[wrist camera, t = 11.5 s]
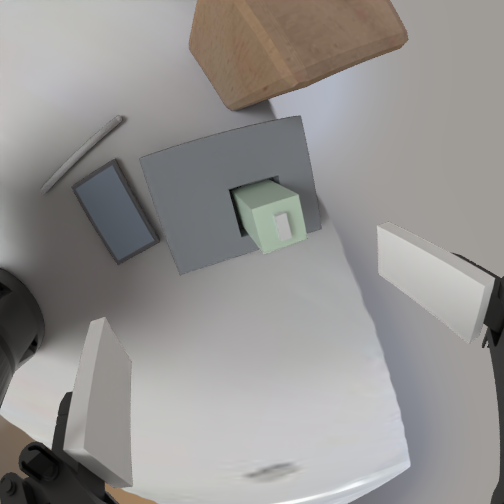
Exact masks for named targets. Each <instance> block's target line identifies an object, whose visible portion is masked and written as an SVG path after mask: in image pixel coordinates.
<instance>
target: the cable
mask: <svg viewBox="0 0 504 504" xmlns="http://www.w3.org/2000/svg"><path fill="white" fill-rule="evenodd" d="M121 121H122V118H121V116H116V117H115V118H113V119H112V120H111V121H110V122H109V123H107V124H106V125H105V126H104V127H103V128H102V129H101V130H99V131H98V132H97V133H96V134H95V135H94V136H93V137H91V138H90V139H89V140H88V141H87V142H86V143H85V144H84V145H83V146H82V147H81V148H80V149H79V150H78V151H76V152H75V153H74V154H73V155H72V156H71V157H70V158H69V159H68V160H67V161H66V162H65V163H64V164H63V165H62V166H61V167H60V168H59V169H58V171H57V172H56V173H55V174H54V175H53V176H52V177H51V178H50V179H49V180H48V181H47V182H46V183H45V184H44V186H43V187H42V188H41V193H43V194H45V193H47V192H48V190H49V189H50V188H51V187H52V186H53V185H54V184H55V183H56V182H57V181H58V180H59V179H60V178H61V177H62V176H63V175H64V174H65V173H66V172H67V171H68V170H69V169H70V168H71V167H72V166H73V165H74V164H75V163H76V162H77V161H78V160H79V159H80V158H81V157H82V156H83V155H84V154H85V153H86V152H87V151H88V150H89V149H90V148H92V147H93V146H94V145H95V144H96V143H97V142H98V141H99V140H100V139H102V138H103V137H104V136H105V135H106V134H107V133H108V132H110V131H111V130H112V129H113V128H114V127H116V126H117V125H118V124H119V123H120V122H121Z"/></svg>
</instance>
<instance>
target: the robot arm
mask: <svg viewBox="0 0 504 504" xmlns="http://www.w3.org/2000/svg"><path fill="white" fill-rule="evenodd" d="M377 237H378V274H379V275H381V276H382V277H383V278H385V279H386V280H387V281H389V282H390V283H392V284H393V285H394V286H396V287H397V288H398V289H400V290H401V291H402V292H404V293H405V294H406V295H408V296H409V297H410V298H412V299H413V300H414V301H416V302H417V303H418V304H419V305H421V306H422V307H423V308H425V309H426V310H427V311H429V312H430V313H431V314H432V315H434V316H435V317H436V318H437V319H439V320H440V321H441V322H442V323H444V324H445V325H446V326H448V327H449V328H450V329H451V330H453V331H454V332H455V333H456V334H457V335H459V336H460V337H461V338H462V339H463V340H465V341H466V342H467V343H471V342H472V341H473V340H474V339H476V338H477V337H478V336H479V335H480V333H481V329H482V326H483V323H484V324H485V325H486V326H488V328H487V331H486V334H485V337H484V340H483V343H482V348H484V346H485V344H486V341H488V343H489V344H488V346H487V347H488V348H490V353H491V358H492V364H493V370H494V377H495V384H496V392H497V400H498V411H499V424H500V477H499V482H498V484H497V487H496V489H495V490H494V492H493V495H492V499H491V504H504V277H502V278H500V277H498V276H497V275H495V274H493V273H491V272H490V271H488V270H486V269H484V268H483V267H481V266H479V265H476V263H474V262H472V261H469V260H468V259H466V258H465V257H463V256H461V255H458V254H454V253H450V252H448V251H446V250H444V249H442V248H441V247H439V246H437V245H435V244H433V243H431V242H429V241H427V240H425V239H423V238H421V237H419V236H417V235H415V234H413V233H411V232H409V231H407V230H405V229H403V228H401V227H399V226H397V225H395V224H393V223H390V222H389V221H388V222H385V223H383V224H380V225H377ZM43 337H44V321H43V317H42V314H41V311H40V308H39V306H38V304H37V302H36V300H35V299H34V297H33V296H32V294H31V293H30V291H29V290H28V289H27V288H26V287H25V286H24V285H23V284H22V283H21V282H20V281H19V280H18V279H17V278H16V277H14V276H13V275H11V274H10V273H8V272H6V271H4V270H2V269H0V408H1V405H2V402H3V400H4V397H5V394H6V392H7V389H8V386H9V384H10V382H11V379H12V377H13V374H14V372H15V371H16V370H17V369H18V368H20V367H21V366H22V365H23V364H24V363H26V362H27V361H28V360H29V359H30V358H32V357H33V356H34V355H35V353H36V352H37V351H38V349H39V346H40V344H41V342H42V340H43ZM131 369H132V361H131V360H130V358H129V356H128V355H127V353H126V352H125V350H124V348H123V347H122V345H121V343H120V342H119V340H118V338H117V337H116V335H115V333H114V332H113V330H112V328H111V326H110V325H109V323H108V321H107V319H106V317H103V318H100V319H97V320H93V321H91V322H90V326H89V329H88V332H87V336H86V340H85V343H84V347H83V351H82V355H81V359H80V363H79V367H78V371H77V375H76V380H75V384H74V389H73V392H68V393H66V394H65V396H64V398H63V399H62V401H61V403H60V406H59V411H58V416H57V421H56V424H57V425H56V426H55V432H54V438H53V444H52V450H50V449H48V448H47V447H46V446H45V445H44V444H43V443H40V442H32V443H30V444H28V445H27V446H26V447H25V448H24V449H23V450H22V452H21V454H20V456H19V467H20V470H21V471H23V472H24V473H25V474H27V475H28V476H29V477H28V478H25V479H23V478H21V477H20V476H18V475H17V474H16V473H12V472H10V473H7V474H6V475H4V476H3V478H2V479H1V481H0V500H1V504H119V503H118V502H117V501H116V500H115V499H114V498H113V497H112V496H111V495H110V494H109V493H108V492H106V491H105V482H106V483H107V484H109V485H110V486H112V487H113V488H122V487H132V486H133V480H132V464H131V436H130V398H131Z"/></svg>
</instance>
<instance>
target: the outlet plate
mask: <svg viewBox="0 0 504 504" xmlns="http://www.w3.org/2000/svg"><path fill="white" fill-rule="evenodd" d="M140 162H141V166H142V169H143V172H144V175H145V178H146V181H147V185H148V188H149V191H150V194H151V197H152V200H153V203H154V206H155V209H156V212H157V214H158V217H159V220H160V223H161V226H162V229H163V231H164V234H165V237H166V240H167V242H168V245H169V248H170V251H171V253H172V256H173V259H174V261H175V264H176V266H177V269H178V272H179V274H180V275H182V274H185V273H188V272H191V271H195V270H198V269H201V268H204V267H207V266H210V265H213V264H216V263H219V262H222V261H225V260H228V259H231V258H234V257H237V256H240V255H243V254H246V253H249V252H252V251H256V250H259V247H258V246H257V245H256V243H255V242H254V241H253V239H252V238H251V237H250V235H249V234H248V233H247V231H246V230H245V229H242V230H239V227H238V223H237V219H236V216H235V212H234V208H233V204H232V201H231V197H230V193H229V190H228V189H232V188H235V187H238V186H242V185H245V184H249V183H252V182H256V181H259V180H263V179H267V178H270V177H273V180H274V182H275V183H277V184H279V185H281V186H283V187H285V188H287V189H289V190H291V191H293V192H295V193H297V194H298V195H299V200H300V204H301V209H302V214H303V218H304V223H305V228H306V233H310V232H314V231H317V230H320V229H322V227H321V221H320V214H319V208H318V202H317V196H316V190H315V185H314V179H313V174H312V168H311V163H310V158H309V153H308V148H307V143H306V138H305V133H304V128H303V124H302V119H301V116H293V117H287V118H282V119H277V120H272V121H268V122H263V123H259V124H254V125H250V126H246V127H242V128H238V129H234V130H230V131H226V132H222V133H218V134H215V135H211V136H207V137H204V138H200V139H197V140H194V141H190V142H187V143H184V144H180V145H177V146H174V147H171V148H168V149H165V150H162V151H159V152H156V153H153V154H150V155H147V156H144V157H142V158H140Z"/></svg>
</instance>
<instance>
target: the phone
mask: <svg viewBox="0 0 504 504" xmlns="http://www.w3.org/2000/svg"><path fill="white" fill-rule="evenodd" d="M71 188H72V189H73V191H74V193H75V195H76V197H77V199H78V200H79V202H80V204H81V206H82V207H83V209H84V211H85V213H86V214H87V216H88V218H89V220H90V221H91V223H92V225H93V226H94V228H95V230H96V231H97V233H98V235H99V236H100V238H101V239H102V241H103V243H104V244H105V246H106V247H107V249H108V251H109V252H110V254H111V255H112V257H113V258H114V260H115V261H116V263H117V264H118V265H119V264H121V263H123V262H125V261H126V260H128V259H130V258H132V257H133V256H135V255H137V254H139V253H141V252H142V251H144V250H146V249H148V248H150V247H151V246H153V245H155V244H157V243H159V242H160V239H159V238H158V236H157V234H156V232H155V231H154V229H153V227H152V226H151V224H150V222H149V220H148V219H147V217H146V215H145V213H144V211H143V210H142V208H141V206H140V204H139V203H138V201H137V199H136V197H135V195H134V193H133V192H132V190H131V188H130V186H129V184H128V182H127V181H126V179H125V177H124V175H123V173H122V171H121V169H120V167H119V165H118V163H117V162H116V160H115V159H113V160H112V161H110V162H108V163H107V164H105V165H104V166H102V167H100V168H99V169H97V170H96V171H94V172H93V173H91V174H90V175H88V176H86V177H85V178H83V179H82V180H81V181H79V182H78V183H76V184H75V185H73V186H72V187H71Z"/></svg>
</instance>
